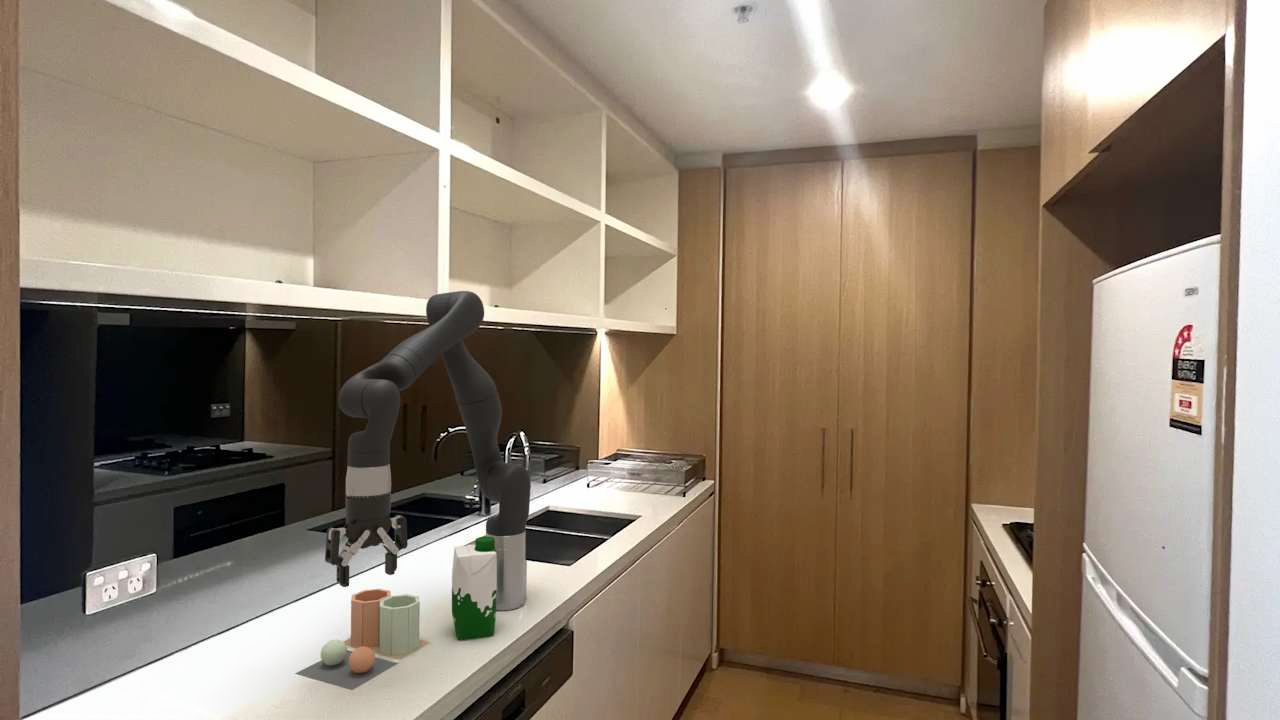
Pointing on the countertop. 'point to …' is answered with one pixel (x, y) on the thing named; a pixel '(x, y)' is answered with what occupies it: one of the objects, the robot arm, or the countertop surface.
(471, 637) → the milk carton
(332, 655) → the ball sage
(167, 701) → the countertop surface
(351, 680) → the mat
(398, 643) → the tubes
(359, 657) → the ball rust
